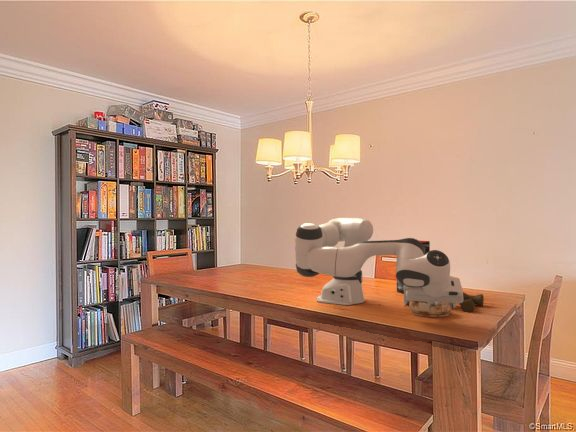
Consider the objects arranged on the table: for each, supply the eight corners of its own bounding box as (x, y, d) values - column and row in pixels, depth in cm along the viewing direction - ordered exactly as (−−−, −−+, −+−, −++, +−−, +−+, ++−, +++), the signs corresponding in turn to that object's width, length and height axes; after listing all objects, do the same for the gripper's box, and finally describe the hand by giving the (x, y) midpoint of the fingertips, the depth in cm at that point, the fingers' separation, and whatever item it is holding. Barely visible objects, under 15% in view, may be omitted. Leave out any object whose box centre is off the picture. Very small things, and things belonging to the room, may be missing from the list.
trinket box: (457, 315, 147) (456, 296, 147) (427, 320, 142) (427, 299, 142) (432, 308, 160) (432, 289, 160) (404, 312, 154) (403, 293, 154)
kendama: (454, 312, 155) (461, 300, 171) (480, 315, 149) (484, 304, 166) (454, 298, 154) (461, 288, 171) (480, 301, 149) (484, 290, 166)
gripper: (405, 290, 136) (405, 310, 146) (466, 293, 130) (462, 313, 140) (404, 276, 141) (404, 296, 150) (464, 278, 135) (460, 299, 144)
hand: (433, 304), depth 145 cm, fingers closed
